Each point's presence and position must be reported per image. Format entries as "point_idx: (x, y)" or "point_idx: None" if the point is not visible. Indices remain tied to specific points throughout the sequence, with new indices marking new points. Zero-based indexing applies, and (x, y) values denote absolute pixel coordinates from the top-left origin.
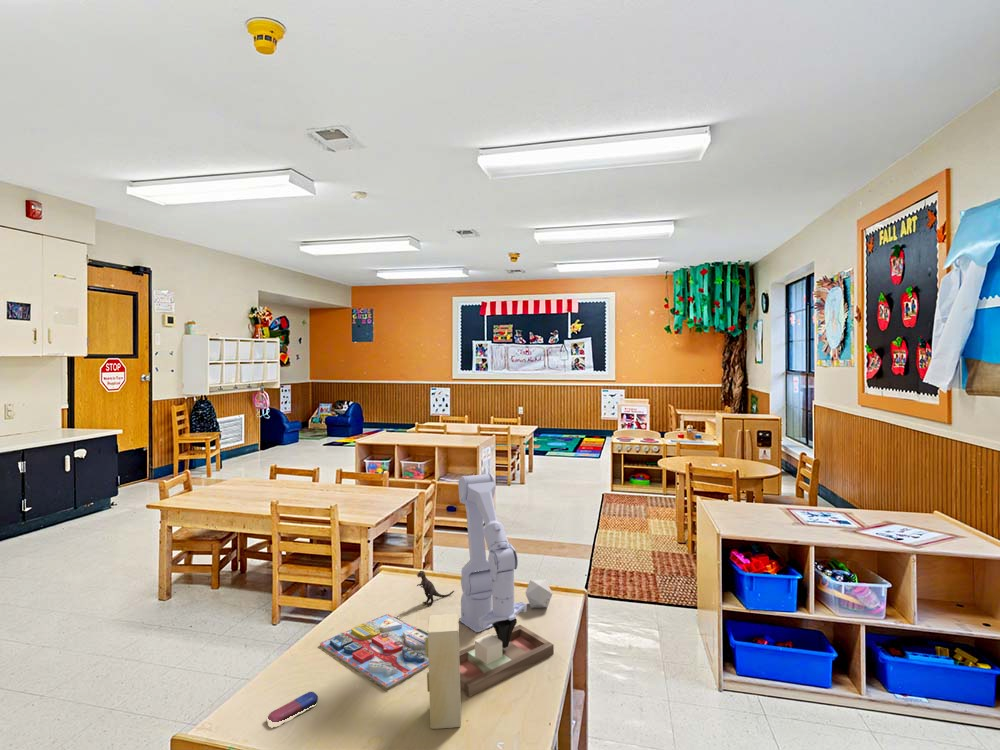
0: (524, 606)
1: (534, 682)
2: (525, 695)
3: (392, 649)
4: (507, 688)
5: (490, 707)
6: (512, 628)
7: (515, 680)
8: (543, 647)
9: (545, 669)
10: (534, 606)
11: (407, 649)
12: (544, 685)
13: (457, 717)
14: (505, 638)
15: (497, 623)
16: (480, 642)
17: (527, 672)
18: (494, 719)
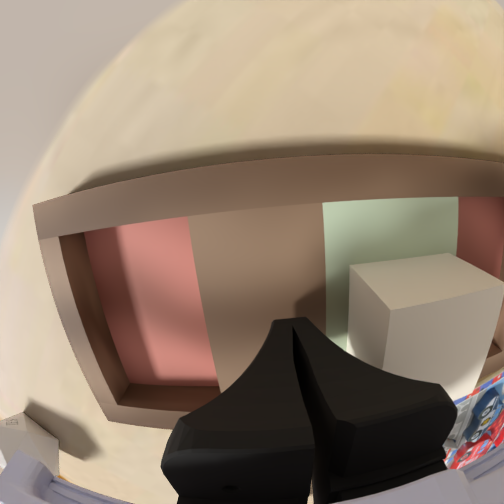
0: (10, 498)
1: (273, 48)
2: (361, 17)
3: (487, 439)
4: (405, 95)
5: (485, 73)
6: (245, 391)
7: (346, 112)
8: (77, 207)
9: (158, 103)
10: (48, 436)
11: (477, 435)
12: (246, 13)
13: None
14: (322, 345)
15: (442, 462)
16: (475, 364)
17: (253, 128)
18: (486, 34)
